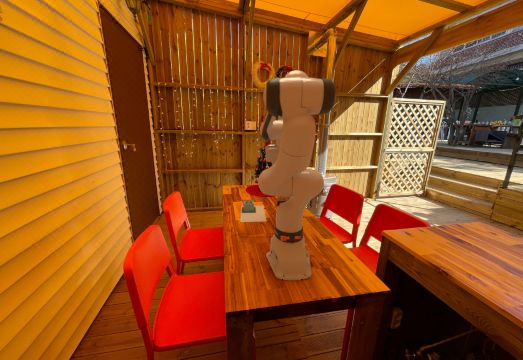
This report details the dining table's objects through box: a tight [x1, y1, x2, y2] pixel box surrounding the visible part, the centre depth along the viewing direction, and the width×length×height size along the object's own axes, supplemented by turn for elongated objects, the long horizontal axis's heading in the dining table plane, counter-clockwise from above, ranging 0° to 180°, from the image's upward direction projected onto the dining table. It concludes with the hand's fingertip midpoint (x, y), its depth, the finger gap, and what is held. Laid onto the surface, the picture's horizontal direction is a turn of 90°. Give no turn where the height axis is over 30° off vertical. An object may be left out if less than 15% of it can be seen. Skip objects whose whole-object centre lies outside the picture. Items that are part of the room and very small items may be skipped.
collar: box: [243, 200, 255, 212], centre depth 137 cm, size 6×6×5 cm
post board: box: [240, 200, 267, 223], centre depth 133 cm, size 24×15×8 cm, turn 4°
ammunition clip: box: [276, 196, 291, 207], centre depth 145 cm, size 11×2×12 cm, turn 99°
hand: (283, 169), depth 119 cm, fingers open, 8 cm apart
